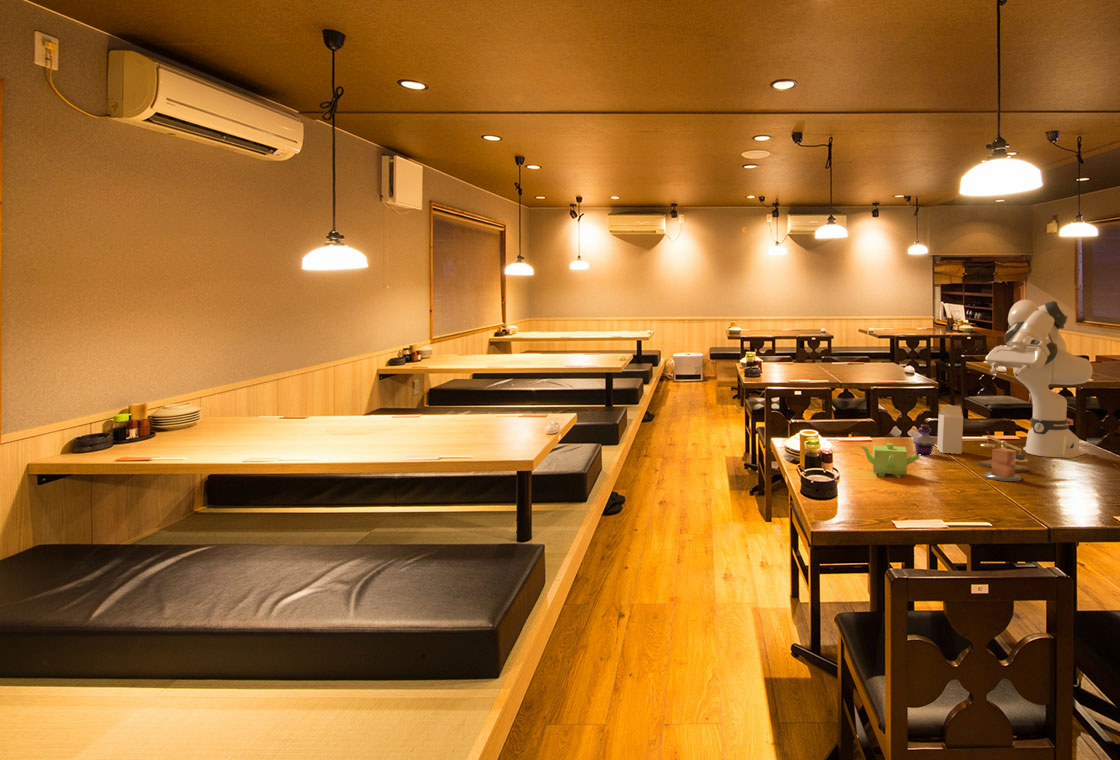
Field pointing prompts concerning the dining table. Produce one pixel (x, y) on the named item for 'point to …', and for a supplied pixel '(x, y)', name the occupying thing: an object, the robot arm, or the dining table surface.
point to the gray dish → (1014, 478)
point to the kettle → (889, 459)
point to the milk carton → (950, 430)
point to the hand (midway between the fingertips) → (1004, 374)
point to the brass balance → (1019, 457)
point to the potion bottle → (924, 441)
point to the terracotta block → (1003, 462)
